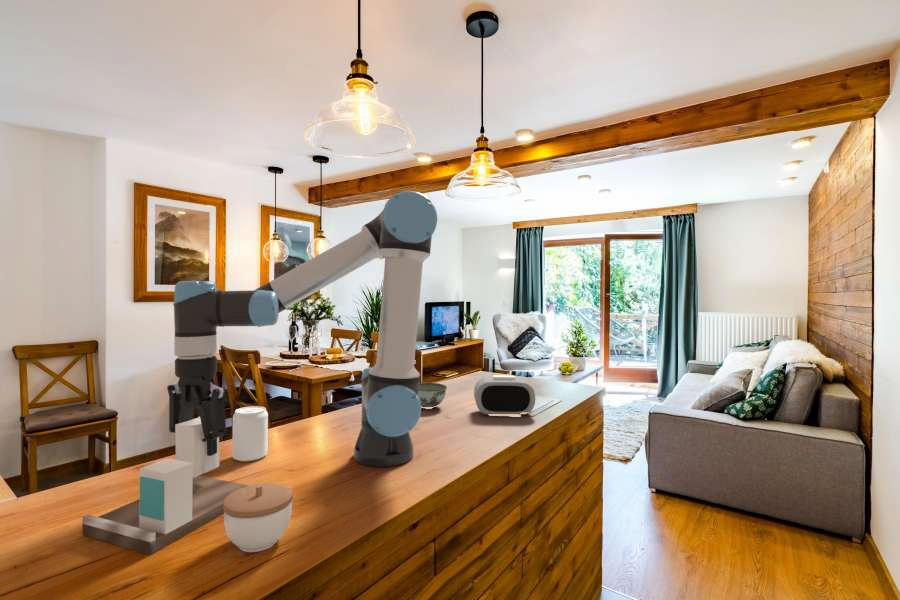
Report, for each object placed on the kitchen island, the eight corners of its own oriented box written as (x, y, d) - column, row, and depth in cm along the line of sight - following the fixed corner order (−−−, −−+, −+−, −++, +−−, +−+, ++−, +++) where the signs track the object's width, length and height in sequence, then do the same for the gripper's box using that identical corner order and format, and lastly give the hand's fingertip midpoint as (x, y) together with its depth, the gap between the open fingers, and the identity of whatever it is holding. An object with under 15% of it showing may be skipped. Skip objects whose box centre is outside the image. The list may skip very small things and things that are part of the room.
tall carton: (219, 466, 94) (218, 418, 94) (194, 477, 88) (194, 427, 88) (200, 463, 96) (199, 416, 96) (174, 473, 90) (174, 424, 90)
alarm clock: (475, 417, 153) (476, 378, 153) (473, 410, 162) (474, 373, 162) (535, 418, 153) (536, 379, 153) (530, 411, 163) (530, 374, 162)
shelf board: (254, 496, 91) (254, 480, 91) (150, 555, 71) (150, 534, 71) (194, 484, 97) (194, 469, 97) (82, 535, 76) (82, 516, 76)
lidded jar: (237, 526, 80) (238, 474, 80) (299, 524, 81) (299, 473, 81) (210, 562, 69) (211, 502, 69) (281, 560, 70) (282, 500, 70)
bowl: (405, 411, 159) (405, 388, 159) (414, 402, 173) (414, 381, 173) (442, 413, 157) (443, 390, 157) (449, 404, 170) (449, 383, 170)
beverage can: (254, 464, 108) (254, 415, 108) (225, 461, 110) (225, 412, 110) (273, 452, 116) (274, 406, 116) (246, 450, 118) (246, 404, 118)
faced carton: (166, 513, 80) (167, 458, 80) (192, 520, 78) (192, 462, 78) (137, 528, 75) (138, 468, 75) (164, 535, 73) (164, 474, 73)
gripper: (245, 355, 92) (246, 467, 93) (179, 351, 98) (180, 456, 99) (215, 361, 85) (216, 482, 86) (146, 356, 91) (148, 469, 92)
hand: (197, 468), depth 92 cm, fingers closed on tall carton, 5 cm apart
